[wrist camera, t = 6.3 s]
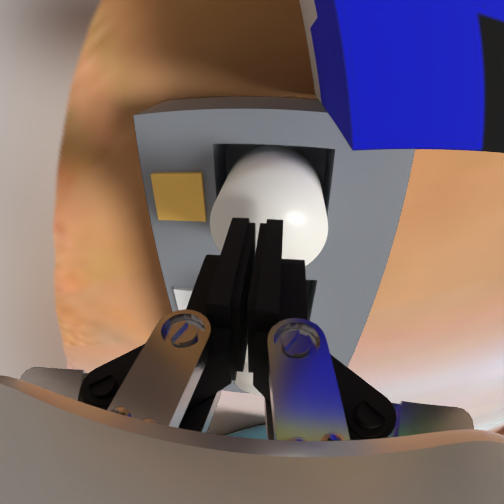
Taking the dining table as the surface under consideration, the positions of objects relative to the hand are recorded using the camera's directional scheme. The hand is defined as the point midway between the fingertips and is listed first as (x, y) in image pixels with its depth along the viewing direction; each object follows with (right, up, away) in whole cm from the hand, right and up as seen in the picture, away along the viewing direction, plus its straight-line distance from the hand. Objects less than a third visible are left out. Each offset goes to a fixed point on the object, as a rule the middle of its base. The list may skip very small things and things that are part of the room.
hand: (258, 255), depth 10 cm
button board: (+1, -1, +10) cm, 10 cm away
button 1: (+1, +3, +4) cm, 5 cm away
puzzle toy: (+7, +13, 0) cm, 14 cm away
